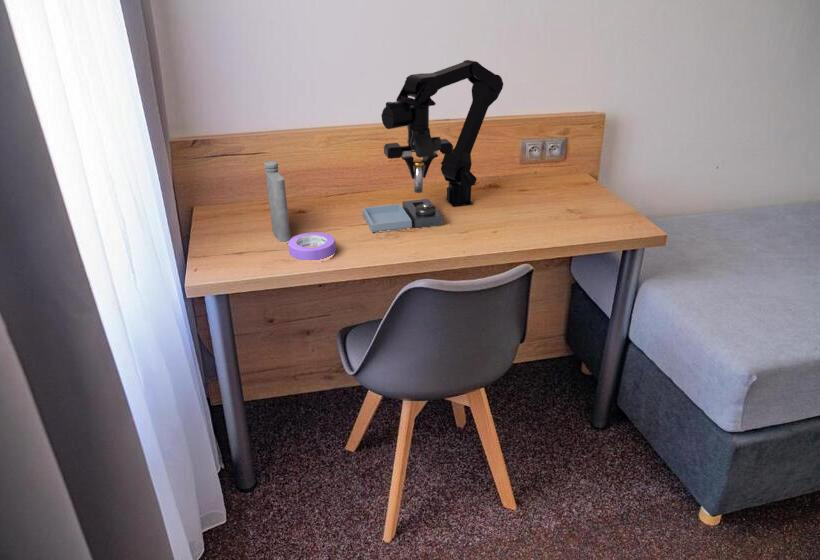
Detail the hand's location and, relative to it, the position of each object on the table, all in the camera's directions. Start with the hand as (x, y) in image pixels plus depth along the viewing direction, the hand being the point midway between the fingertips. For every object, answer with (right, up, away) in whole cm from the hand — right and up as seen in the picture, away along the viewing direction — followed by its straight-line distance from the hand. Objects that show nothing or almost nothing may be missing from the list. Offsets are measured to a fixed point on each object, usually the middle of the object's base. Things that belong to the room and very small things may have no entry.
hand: (418, 178), depth 179 cm
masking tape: (-27, -23, -18) cm, 40 cm away
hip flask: (-38, -16, -6) cm, 42 cm away
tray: (-9, -13, 0) cm, 16 cm away
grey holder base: (+1, -11, +2) cm, 11 cm away
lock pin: (0, -4, +2) cm, 4 cm away
